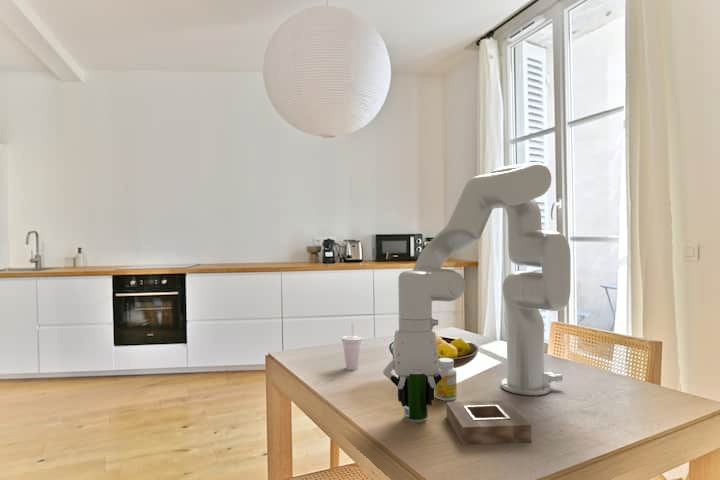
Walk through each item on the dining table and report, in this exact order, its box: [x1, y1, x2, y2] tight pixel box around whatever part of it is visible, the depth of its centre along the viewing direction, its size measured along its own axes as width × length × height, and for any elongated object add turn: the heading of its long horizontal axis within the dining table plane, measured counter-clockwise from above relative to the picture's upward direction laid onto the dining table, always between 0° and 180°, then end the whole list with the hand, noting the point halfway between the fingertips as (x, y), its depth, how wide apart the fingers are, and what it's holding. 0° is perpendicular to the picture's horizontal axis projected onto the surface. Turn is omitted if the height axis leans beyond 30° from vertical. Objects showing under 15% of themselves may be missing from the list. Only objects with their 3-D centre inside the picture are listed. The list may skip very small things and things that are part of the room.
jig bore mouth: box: [463, 405, 510, 421], centre depth 103 cm, size 8×8×1 cm
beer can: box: [403, 369, 429, 423], centre depth 109 cm, size 5×5×12 cm
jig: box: [445, 399, 532, 446], centre depth 103 cm, size 14×14×4 cm
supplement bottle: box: [434, 357, 458, 402], centre depth 122 cm, size 5×5×10 cm
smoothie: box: [341, 323, 363, 371], centre depth 149 cm, size 6×6×14 cm
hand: (416, 403), depth 109 cm, fingers closed on beer can, 5 cm apart
